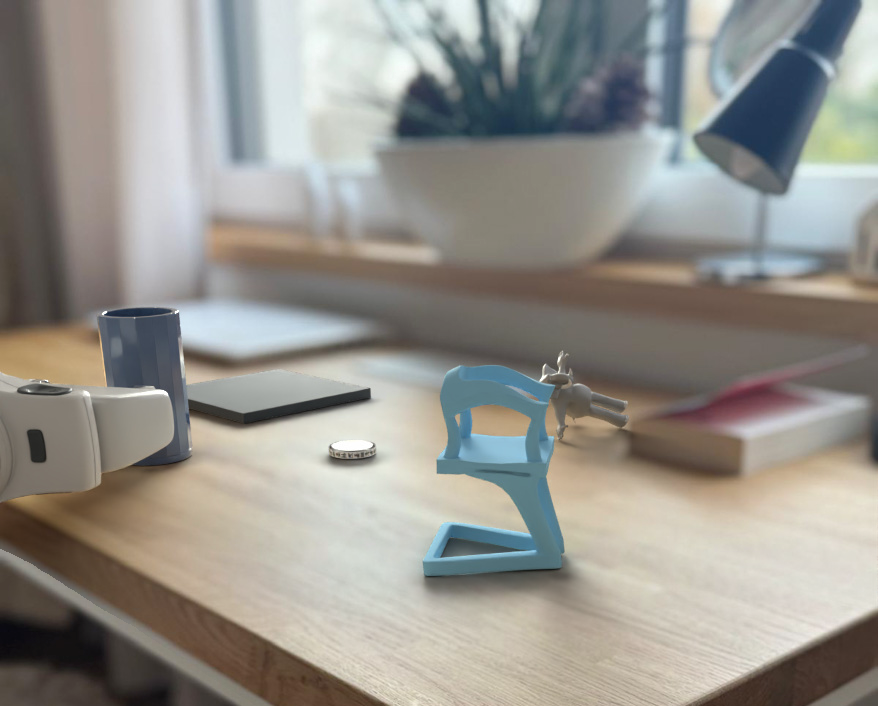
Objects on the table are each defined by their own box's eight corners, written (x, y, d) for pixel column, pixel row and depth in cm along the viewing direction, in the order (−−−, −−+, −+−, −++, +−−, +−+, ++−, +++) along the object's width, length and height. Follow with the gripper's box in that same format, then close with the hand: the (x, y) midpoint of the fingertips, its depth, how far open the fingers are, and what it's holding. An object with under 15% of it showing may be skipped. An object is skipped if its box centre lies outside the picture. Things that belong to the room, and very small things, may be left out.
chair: (559, 583, 64) (565, 381, 59) (421, 576, 65) (417, 378, 61) (567, 540, 71) (573, 356, 66) (442, 534, 72) (440, 354, 68)
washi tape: (375, 445, 94) (375, 438, 94) (376, 457, 90) (376, 450, 90) (329, 447, 94) (329, 440, 93) (328, 459, 90) (328, 451, 90)
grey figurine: (643, 442, 95) (551, 412, 92) (607, 477, 100) (520, 449, 97) (640, 355, 100) (553, 324, 97) (606, 392, 104) (523, 363, 102)
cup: (101, 456, 92) (82, 312, 88) (167, 442, 96) (152, 304, 92) (140, 470, 88) (122, 320, 83) (207, 455, 92) (193, 311, 88)
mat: (155, 399, 113) (154, 390, 113) (279, 377, 124) (278, 368, 123) (244, 423, 103) (243, 413, 102) (371, 397, 113) (370, 387, 112)
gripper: (-143, 470, 75) (-11, 424, 88) (110, 494, 70) (214, 441, 82) (-163, 380, 73) (-24, 346, 85) (98, 397, 67) (207, 357, 79)
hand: (95, 392), depth 84 cm, fingers open, 8 cm apart
